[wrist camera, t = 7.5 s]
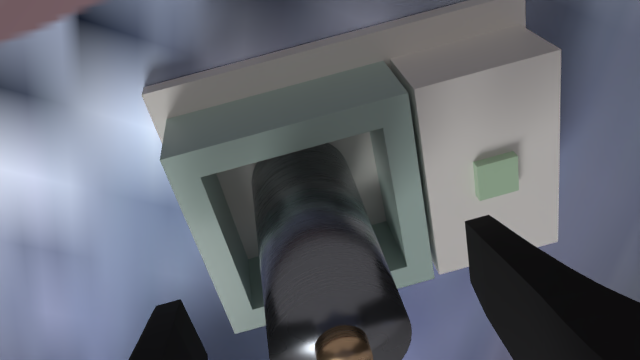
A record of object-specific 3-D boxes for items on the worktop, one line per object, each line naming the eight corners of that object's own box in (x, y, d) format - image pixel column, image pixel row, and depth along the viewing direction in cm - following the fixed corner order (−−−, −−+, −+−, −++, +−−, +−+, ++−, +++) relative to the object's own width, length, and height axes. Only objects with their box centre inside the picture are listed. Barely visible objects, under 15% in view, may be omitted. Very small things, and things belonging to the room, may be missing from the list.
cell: (339, 125, 18) (408, 289, 11) (357, 207, 19) (426, 389, 13) (239, 152, 18) (252, 332, 11) (266, 231, 19) (291, 426, 13)
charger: (515, -13, 17) (575, 17, 14) (521, 210, 21) (568, 266, 19) (143, 87, 17) (129, 137, 14) (228, 291, 21) (231, 360, 18)
